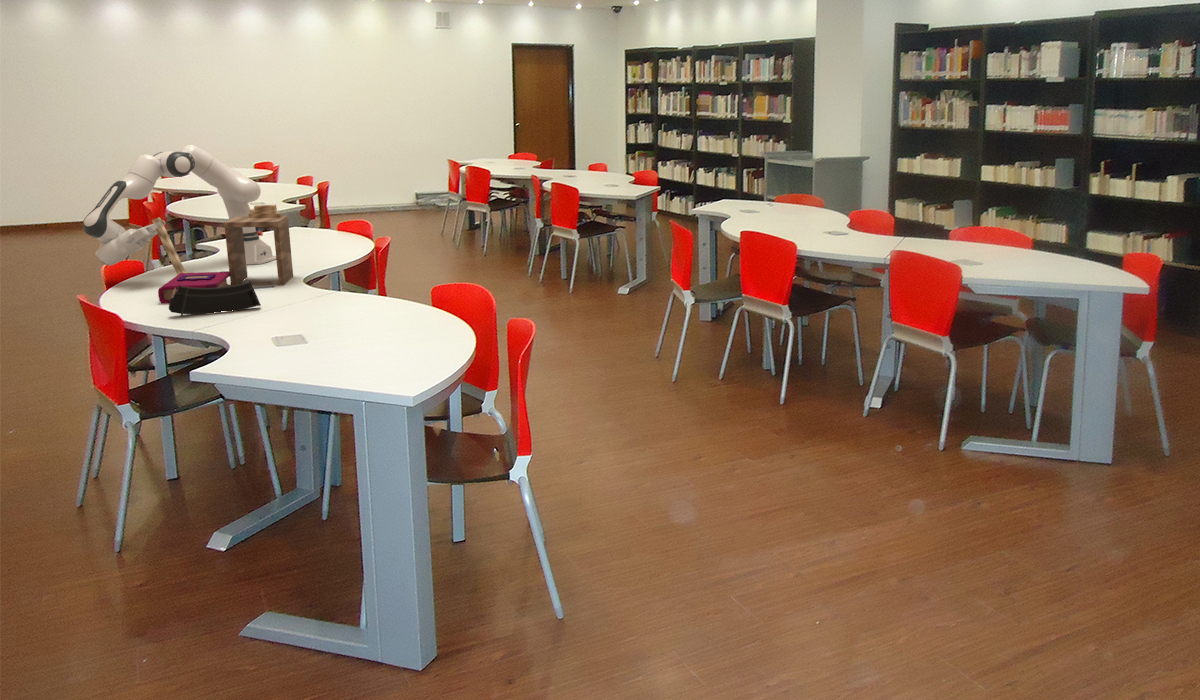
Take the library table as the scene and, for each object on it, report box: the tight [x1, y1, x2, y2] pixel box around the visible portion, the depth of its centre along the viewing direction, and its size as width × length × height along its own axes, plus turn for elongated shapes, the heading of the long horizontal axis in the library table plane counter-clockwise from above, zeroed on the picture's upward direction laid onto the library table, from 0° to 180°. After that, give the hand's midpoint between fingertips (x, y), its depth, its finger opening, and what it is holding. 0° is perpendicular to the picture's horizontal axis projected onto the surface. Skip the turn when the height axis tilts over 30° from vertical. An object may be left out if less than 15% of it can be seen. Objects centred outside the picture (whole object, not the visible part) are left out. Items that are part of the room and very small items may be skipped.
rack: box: [223, 204, 294, 286], centre depth 399 cm, size 21×19×31 cm
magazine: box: [168, 280, 262, 317], centre depth 346 cm, size 17×3×30 cm
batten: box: [151, 216, 187, 276], centre depth 396 cm, size 28×3×2 cm
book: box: [157, 270, 232, 304], centre depth 375 cm, size 21×28×8 cm
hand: (162, 222), depth 392 cm, fingers closed on batten, 3 cm apart
